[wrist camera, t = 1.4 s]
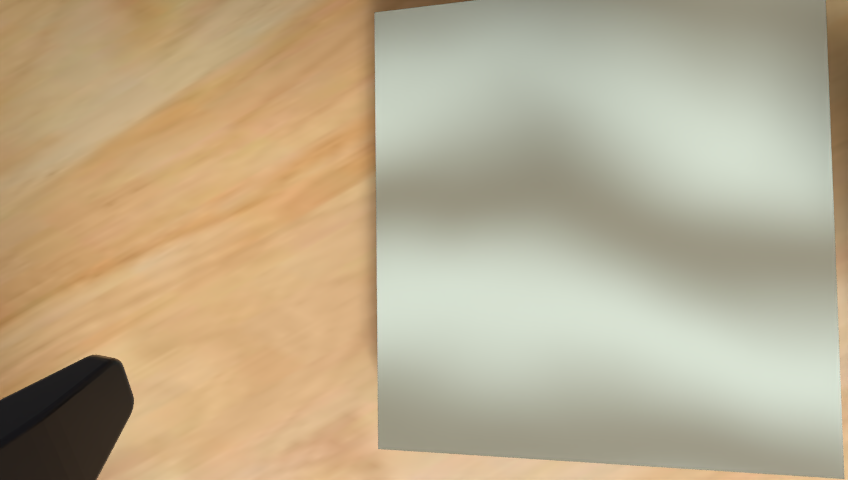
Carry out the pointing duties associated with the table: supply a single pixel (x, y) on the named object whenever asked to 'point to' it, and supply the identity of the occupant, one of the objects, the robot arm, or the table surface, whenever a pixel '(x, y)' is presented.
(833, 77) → the table surface
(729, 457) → the plate
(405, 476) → the table surface
